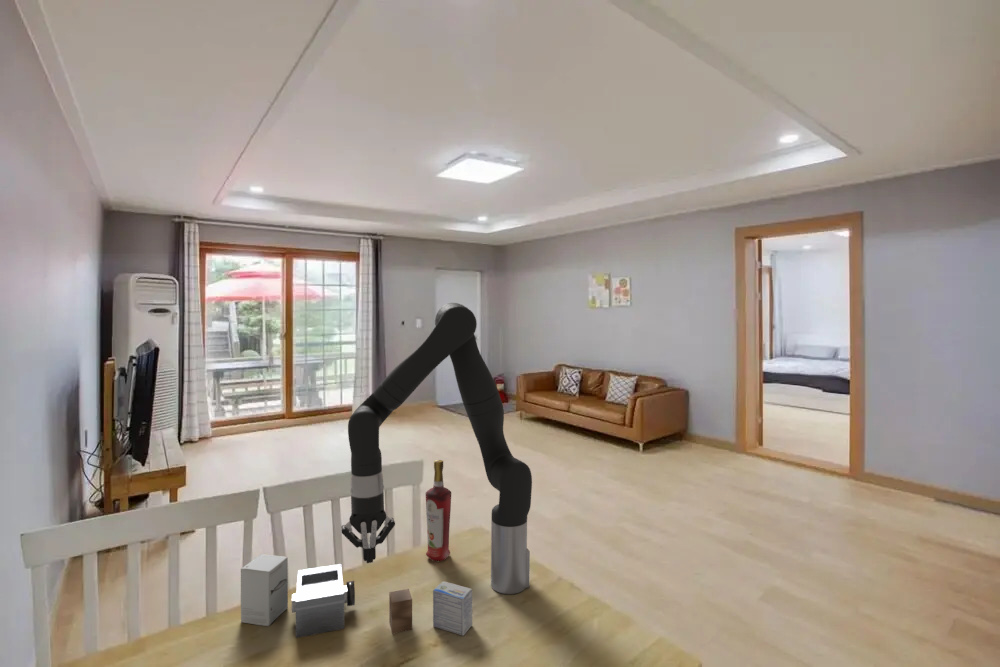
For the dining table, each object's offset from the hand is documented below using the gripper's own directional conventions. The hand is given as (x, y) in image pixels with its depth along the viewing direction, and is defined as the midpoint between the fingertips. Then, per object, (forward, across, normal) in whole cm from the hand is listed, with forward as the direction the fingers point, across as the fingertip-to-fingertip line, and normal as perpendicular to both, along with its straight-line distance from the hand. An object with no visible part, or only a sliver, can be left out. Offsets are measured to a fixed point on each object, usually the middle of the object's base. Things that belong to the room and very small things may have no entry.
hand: (369, 561), depth 122 cm
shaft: (+9, +11, 0) cm, 14 cm away
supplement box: (+10, +24, -3) cm, 26 cm away
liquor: (+12, -20, -18) cm, 29 cm away
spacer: (+11, -6, +10) cm, 16 cm away
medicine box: (+11, -17, +14) cm, 25 cm away
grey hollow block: (+10, +11, 0) cm, 16 cm away
